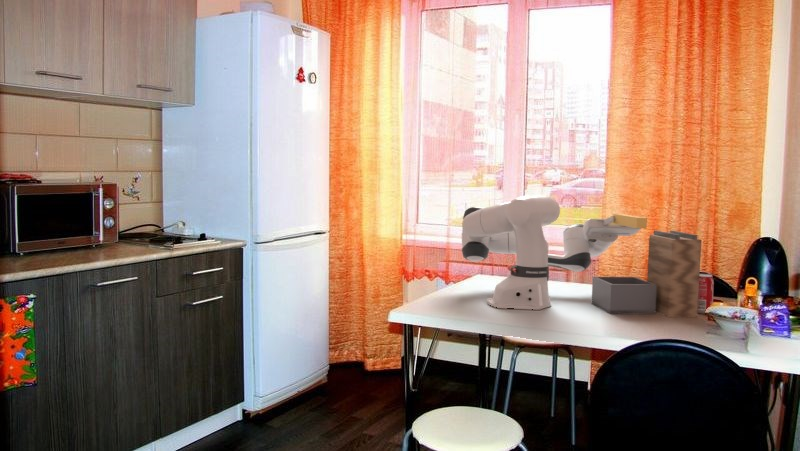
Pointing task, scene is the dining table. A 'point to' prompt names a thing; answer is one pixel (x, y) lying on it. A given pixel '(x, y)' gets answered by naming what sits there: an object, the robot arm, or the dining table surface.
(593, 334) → the dining table surface
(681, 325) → the dining table surface
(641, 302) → the bin
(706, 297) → the soda can
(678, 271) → the stand
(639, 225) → the bar
